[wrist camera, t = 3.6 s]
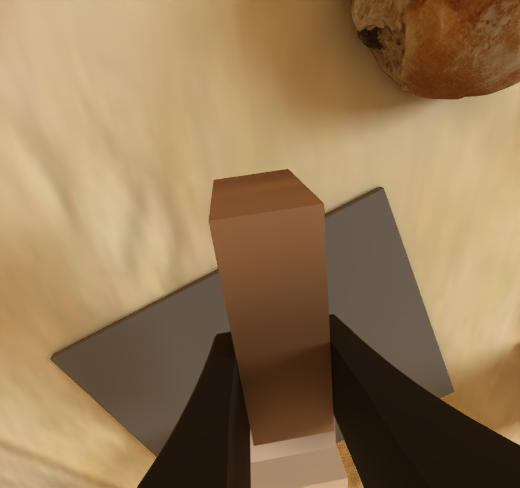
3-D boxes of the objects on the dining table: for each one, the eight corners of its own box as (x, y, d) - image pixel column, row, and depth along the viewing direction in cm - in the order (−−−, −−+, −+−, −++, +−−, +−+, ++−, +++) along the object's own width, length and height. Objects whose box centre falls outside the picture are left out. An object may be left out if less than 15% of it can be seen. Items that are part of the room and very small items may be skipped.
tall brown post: (182, 184, 10) (159, 228, 7) (318, 164, 10) (370, 196, 7) (242, 451, 15) (248, 559, 12) (332, 434, 16) (365, 535, 12)
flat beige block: (235, 404, 23) (238, 499, 17) (318, 389, 23) (347, 478, 18) (238, 421, 23) (243, 518, 18) (319, 406, 24) (348, 497, 18)
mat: (450, 387, 25) (454, 391, 25) (204, 495, 27) (204, 500, 27) (380, 186, 18) (383, 188, 17) (53, 354, 20) (50, 359, 20)
